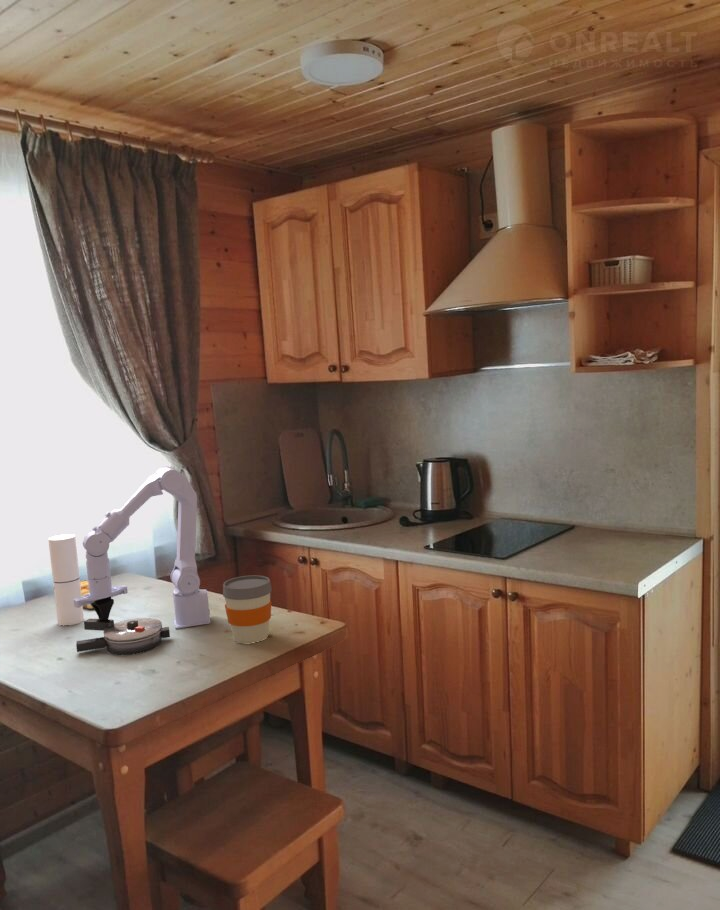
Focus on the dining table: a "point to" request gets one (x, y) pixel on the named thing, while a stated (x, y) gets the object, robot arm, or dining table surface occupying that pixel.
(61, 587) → the cylindrical container
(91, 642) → the pot
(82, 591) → the croissant
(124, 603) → the dining table surface
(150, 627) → the pressure cooker lid
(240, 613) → the reusable coffee cup
